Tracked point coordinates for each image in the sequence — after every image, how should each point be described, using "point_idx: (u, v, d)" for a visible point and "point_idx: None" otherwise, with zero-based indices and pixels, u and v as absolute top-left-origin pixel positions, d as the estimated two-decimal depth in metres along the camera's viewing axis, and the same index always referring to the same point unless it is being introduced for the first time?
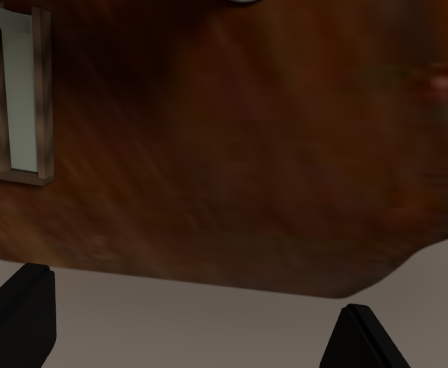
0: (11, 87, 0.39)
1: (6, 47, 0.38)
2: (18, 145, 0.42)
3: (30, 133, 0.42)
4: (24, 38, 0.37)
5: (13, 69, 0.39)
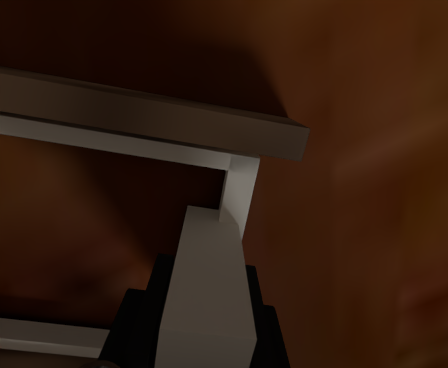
0: None
1: None
2: None
3: None
4: None
5: None
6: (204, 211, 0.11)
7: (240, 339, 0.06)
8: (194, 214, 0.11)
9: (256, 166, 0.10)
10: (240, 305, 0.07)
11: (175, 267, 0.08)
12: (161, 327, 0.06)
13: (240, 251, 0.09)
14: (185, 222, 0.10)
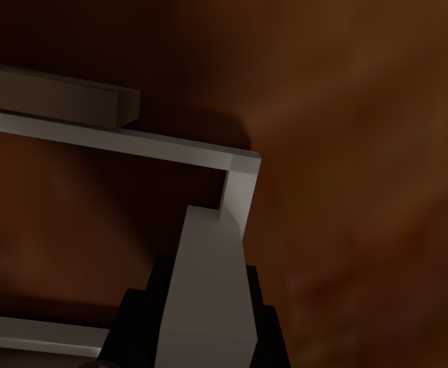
0: None
1: None
2: None
3: None
4: None
5: None
6: (204, 211, 0.11)
7: (240, 339, 0.06)
8: (194, 214, 0.11)
9: (256, 166, 0.10)
10: (241, 304, 0.07)
11: (175, 267, 0.08)
12: (162, 326, 0.06)
13: (240, 251, 0.09)
14: (185, 222, 0.10)
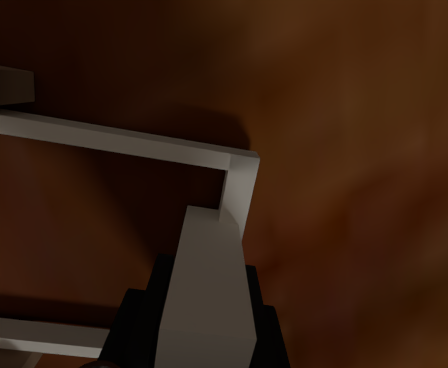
0: None
1: None
2: None
3: None
4: None
5: None
6: (204, 211, 0.11)
7: (240, 339, 0.06)
8: (194, 214, 0.11)
9: (256, 165, 0.10)
10: (240, 304, 0.07)
11: (175, 267, 0.08)
12: (161, 327, 0.06)
13: (240, 251, 0.09)
14: (185, 222, 0.10)
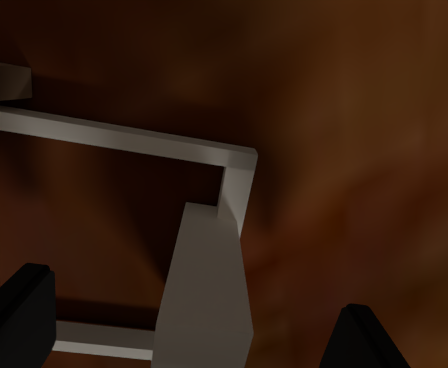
0: None
1: None
2: None
3: None
4: None
5: None
6: (202, 208, 0.11)
7: (237, 333, 0.06)
8: (192, 210, 0.11)
9: (254, 162, 0.10)
10: (237, 299, 0.07)
11: (172, 262, 0.08)
12: (158, 321, 0.06)
13: (238, 247, 0.09)
14: (183, 218, 0.10)
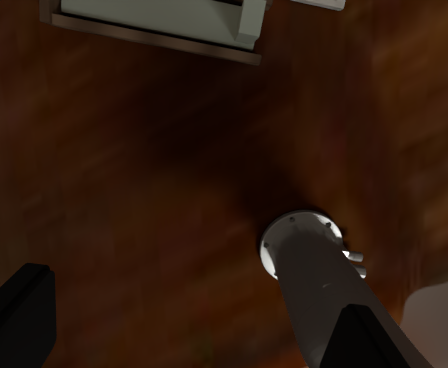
0: (174, 0, 0.31)
1: (220, 7, 0.31)
2: None
3: (116, 12, 0.31)
4: (230, 33, 0.32)
5: (195, 10, 0.31)
6: None
7: None
8: None
9: None
10: None
11: None
12: None
13: None
14: None
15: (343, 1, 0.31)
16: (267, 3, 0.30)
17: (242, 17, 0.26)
